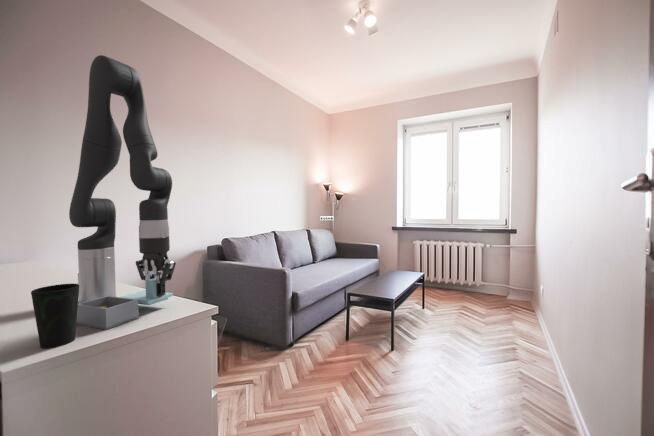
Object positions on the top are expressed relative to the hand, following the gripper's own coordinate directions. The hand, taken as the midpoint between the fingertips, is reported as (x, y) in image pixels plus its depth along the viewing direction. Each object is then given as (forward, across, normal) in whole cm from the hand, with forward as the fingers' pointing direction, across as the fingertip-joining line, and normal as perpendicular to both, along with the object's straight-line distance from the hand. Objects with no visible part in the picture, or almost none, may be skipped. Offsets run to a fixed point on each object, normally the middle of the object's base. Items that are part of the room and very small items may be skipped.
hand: (156, 294), depth 84 cm
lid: (+2, -4, 0) cm, 4 cm away
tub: (+4, -4, -11) cm, 12 cm away
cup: (+4, -1, -23) cm, 23 cm away
